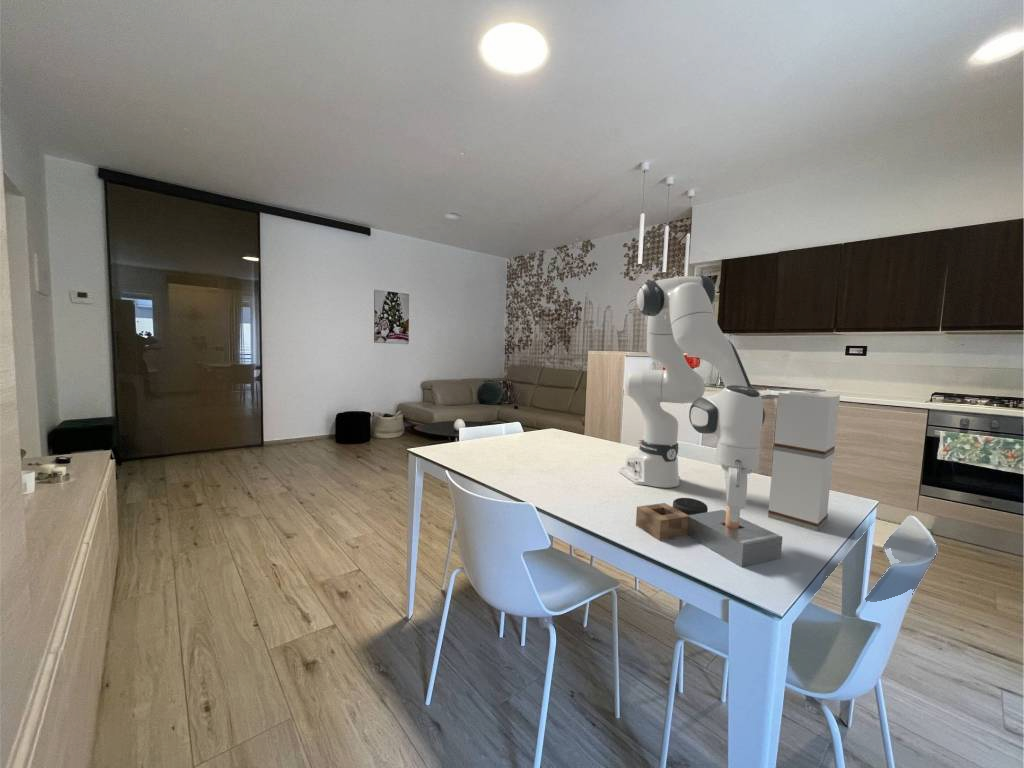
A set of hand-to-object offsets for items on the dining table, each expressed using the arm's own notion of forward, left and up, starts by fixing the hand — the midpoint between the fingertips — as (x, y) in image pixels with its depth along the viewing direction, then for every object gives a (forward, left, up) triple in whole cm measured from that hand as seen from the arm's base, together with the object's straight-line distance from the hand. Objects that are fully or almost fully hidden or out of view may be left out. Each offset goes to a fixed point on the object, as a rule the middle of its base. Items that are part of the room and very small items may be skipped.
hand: (732, 513), depth 98 cm
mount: (-12, -10, -8) cm, 17 cm away
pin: (0, 0, -8) cm, 8 cm away
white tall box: (-6, +32, -8) cm, 34 cm away
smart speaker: (-17, +4, -8) cm, 19 cm away
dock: (0, 0, -8) cm, 8 cm away
